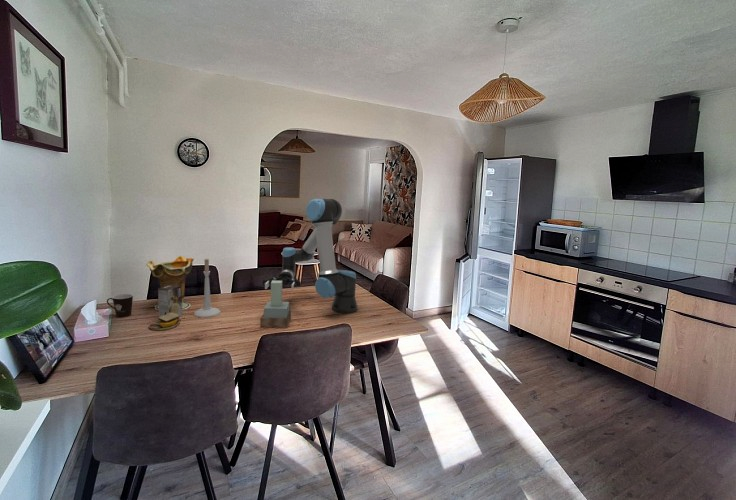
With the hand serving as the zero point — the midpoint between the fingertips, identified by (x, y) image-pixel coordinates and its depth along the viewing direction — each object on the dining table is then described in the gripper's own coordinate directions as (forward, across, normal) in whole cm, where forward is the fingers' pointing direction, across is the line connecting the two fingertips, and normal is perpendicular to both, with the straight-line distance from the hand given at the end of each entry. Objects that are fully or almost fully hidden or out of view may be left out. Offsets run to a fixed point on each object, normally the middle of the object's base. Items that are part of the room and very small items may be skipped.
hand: (278, 287), depth 186 cm
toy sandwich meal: (+13, +52, -18) cm, 56 cm away
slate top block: (+5, 0, -13) cm, 14 cm away
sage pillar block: (+4, 0, -8) cm, 9 cm away
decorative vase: (-15, +60, -18) cm, 65 cm away
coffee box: (+2, +54, -18) cm, 57 cm away
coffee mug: (+1, +79, -18) cm, 81 cm away
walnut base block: (+5, 0, -18) cm, 19 cm away
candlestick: (-6, +38, -18) cm, 43 cm away
